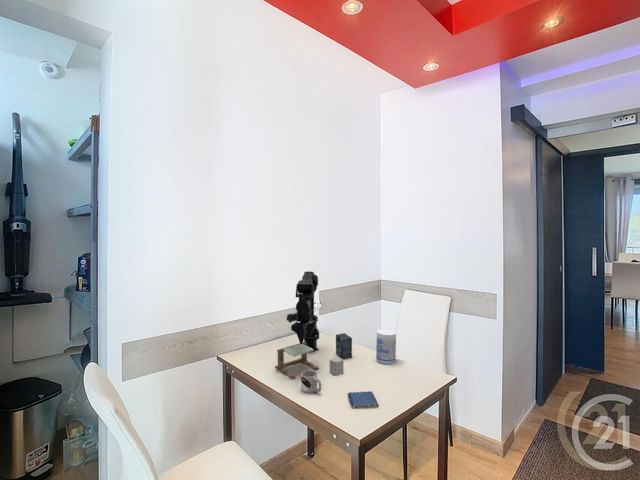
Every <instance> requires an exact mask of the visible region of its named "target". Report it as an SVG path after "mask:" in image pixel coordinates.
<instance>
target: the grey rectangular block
mask: <svg viewBox="0 0 640 480" xmlns="http://www.w3.org/2000/svg"><path fill="white" fill-rule="evenodd" d="M329 373H330V374H332V375H334V376H339V375H341V374H344V359H342V358H341V357H339V356H338V357H337V356H336V357H333V358H331V359H329Z"/></svg>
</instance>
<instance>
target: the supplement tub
mask: <svg viewBox="0 0 640 480" xmlns="http://www.w3.org/2000/svg"><path fill="white" fill-rule="evenodd" d="M375 350H376V351H375V352H376V355H375V359H376V361H377V362H378V363H380V364H384V365H392V364H394V363H396V358H397V357H396V356H397V355H396V354H397V333H396V331H395V330H392V329H388V328H386V329H384V328H383V329H379V330H377V331H376V349H375Z"/></svg>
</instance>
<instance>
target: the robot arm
mask: <svg viewBox="0 0 640 480" xmlns="http://www.w3.org/2000/svg"><path fill="white" fill-rule="evenodd" d="M318 286H319V276H318V275H316V274H315V272H314V271H309V270H308V271H307V270H306V271H304V273H303V275H302V277H301V279H300V280H298V282H297V283H296V288H295V298H298V301H297V303H296V304H295V310H296V312H295V313H288V314H287V315H286V321H288V323H289V324H290V323H292V322H294V323H293V324H292V325H291V326H290V330H291V331H292V332H293V333H295V334H296V336H297V339H298V342H299V344H303V342H306V343H307V346H308V347H310V348H312V349H313V351H311V352H314V351H318V350H319V348H318V347H317V345H318V344H317V342H318V340H319V339H320V330H319V328H318V326H317V322H318V321H319V318H318V316H317V315H315V293H316V291H317V289H318ZM311 352H310V353H311Z"/></svg>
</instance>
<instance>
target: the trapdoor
mask: <svg viewBox="0 0 640 480" xmlns="http://www.w3.org/2000/svg"><path fill="white" fill-rule="evenodd" d="M299 344H300V343H299ZM295 345H296V344H295ZM291 346H292V347H289V346H288V347H289V348H286V347H284V348H285V349H283V350H284V353H286V354H288V355H290V356H292V357H297V356H301V354H304V353H307V354H308V353H311V351H312V352H314V351H313V349H312V348H310V347H308V346H306V345H303V344H300V345H296V346H293V345H291Z"/></svg>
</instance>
